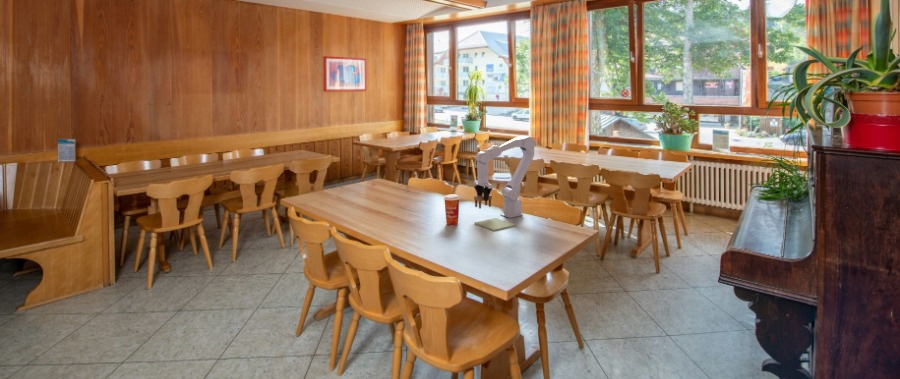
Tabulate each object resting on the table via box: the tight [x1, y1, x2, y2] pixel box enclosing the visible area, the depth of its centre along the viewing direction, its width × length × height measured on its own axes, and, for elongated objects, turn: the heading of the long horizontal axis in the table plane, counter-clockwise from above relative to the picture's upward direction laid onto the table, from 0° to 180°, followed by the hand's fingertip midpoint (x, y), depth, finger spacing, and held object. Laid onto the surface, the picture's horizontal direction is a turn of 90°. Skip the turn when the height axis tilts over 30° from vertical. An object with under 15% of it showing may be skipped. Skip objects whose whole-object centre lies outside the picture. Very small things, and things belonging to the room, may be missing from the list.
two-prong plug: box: [473, 194, 493, 209], centre depth 255 cm, size 8×5×6 cm, turn 120°
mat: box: [474, 217, 517, 232], centre depth 245 cm, size 14×16×1 cm
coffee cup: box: [443, 193, 461, 226], centre depth 247 cm, size 8×8×15 cm
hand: (483, 199), depth 255 cm, fingers closed on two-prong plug, 5 cm apart
